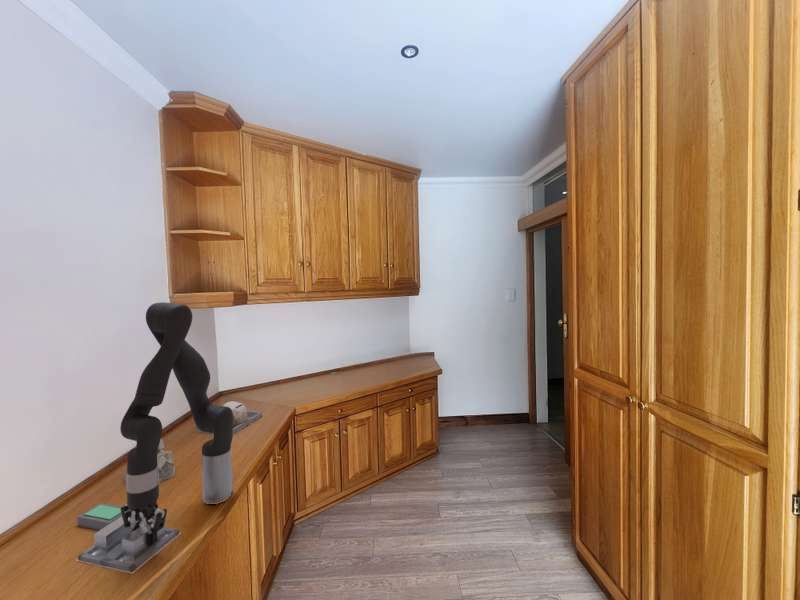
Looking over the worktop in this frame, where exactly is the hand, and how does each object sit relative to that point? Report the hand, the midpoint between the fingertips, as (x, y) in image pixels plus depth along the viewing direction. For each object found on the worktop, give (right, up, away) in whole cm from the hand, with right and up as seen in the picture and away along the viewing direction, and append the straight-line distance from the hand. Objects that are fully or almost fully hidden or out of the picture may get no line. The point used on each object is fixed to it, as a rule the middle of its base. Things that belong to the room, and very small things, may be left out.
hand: (144, 542), depth 106 cm
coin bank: (-18, +2, +94) cm, 95 cm away
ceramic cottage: (-26, -1, +42) cm, 49 cm away
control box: (-21, -2, +12) cm, 24 cm away
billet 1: (-9, -2, +2) cm, 10 cm away
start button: (-21, +1, +12) cm, 24 cm away
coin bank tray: (-18, +2, +94) cm, 96 cm away
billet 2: (0, -2, 0) cm, 2 cm away
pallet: (-5, -3, +1) cm, 6 cm away
